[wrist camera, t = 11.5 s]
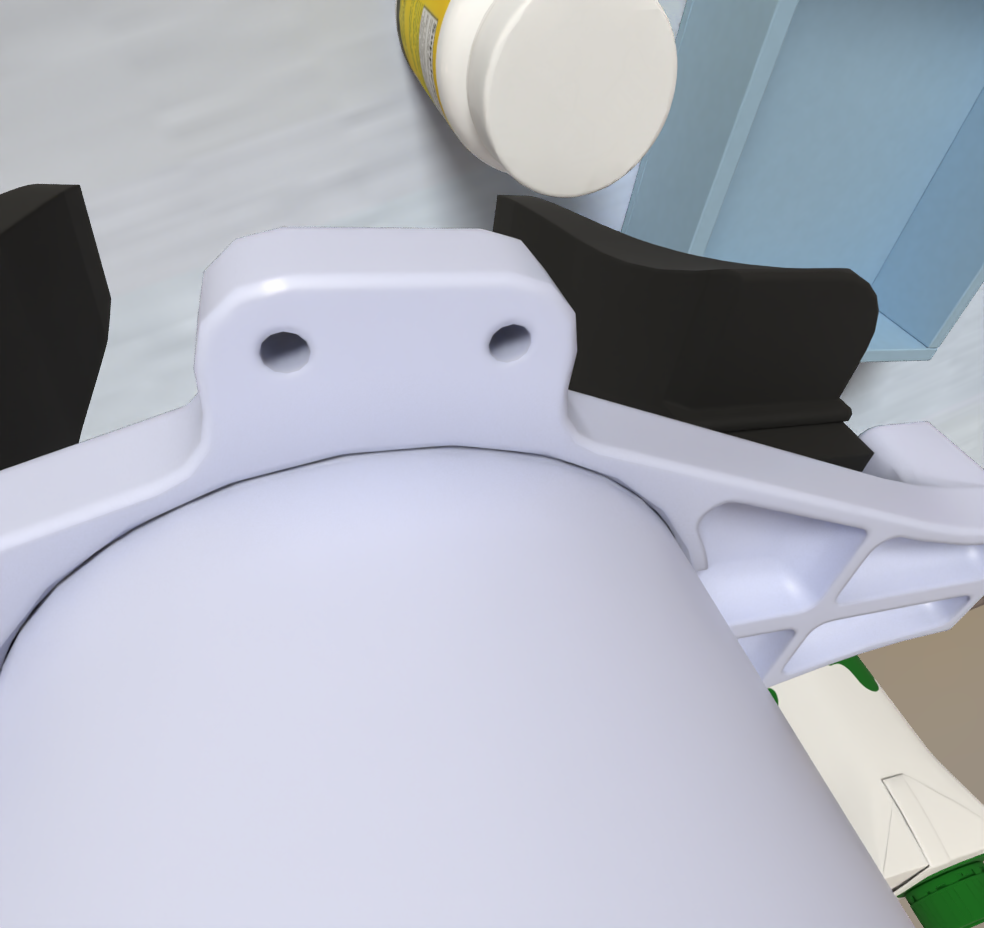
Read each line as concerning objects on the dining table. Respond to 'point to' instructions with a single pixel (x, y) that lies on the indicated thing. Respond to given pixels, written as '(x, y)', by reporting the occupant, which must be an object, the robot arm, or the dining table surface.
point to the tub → (830, 151)
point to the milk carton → (892, 791)
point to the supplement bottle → (546, 83)
